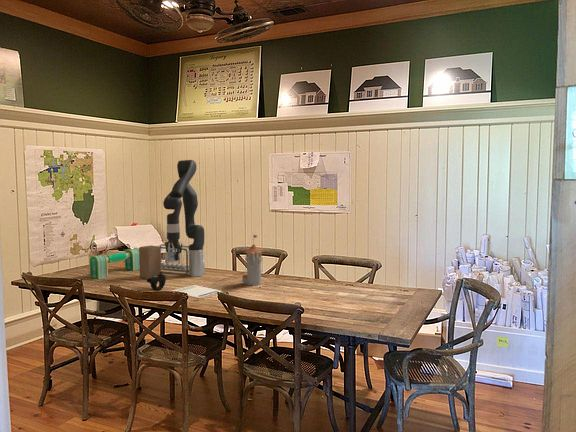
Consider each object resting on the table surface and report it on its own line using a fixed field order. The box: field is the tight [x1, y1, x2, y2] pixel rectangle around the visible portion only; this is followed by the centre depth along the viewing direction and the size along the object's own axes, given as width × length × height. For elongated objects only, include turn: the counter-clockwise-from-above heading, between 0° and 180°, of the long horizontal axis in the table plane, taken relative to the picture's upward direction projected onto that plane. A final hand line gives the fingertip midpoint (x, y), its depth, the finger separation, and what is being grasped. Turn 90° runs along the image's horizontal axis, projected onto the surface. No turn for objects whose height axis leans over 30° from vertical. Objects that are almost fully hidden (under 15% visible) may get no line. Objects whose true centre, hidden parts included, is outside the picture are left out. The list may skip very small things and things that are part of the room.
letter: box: [171, 284, 223, 299], centre depth 267 cm, size 18×24×1 cm
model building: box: [242, 234, 263, 286], centre depth 284 cm, size 14×12×30 cm
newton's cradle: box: [158, 243, 189, 276], centre depth 319 cm, size 30×10×18 cm, turn 67°
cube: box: [167, 250, 181, 263], centre depth 280 cm, size 5×5×5 cm
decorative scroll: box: [88, 247, 140, 280], centre depth 316 cm, size 36×8×15 cm, turn 151°
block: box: [138, 245, 162, 280], centre depth 303 cm, size 10×10×20 cm
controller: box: [146, 272, 167, 291], centre depth 270 cm, size 4×12×10 cm, turn 148°
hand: (173, 259), depth 280 cm, fingers closed on cube, 5 cm apart
